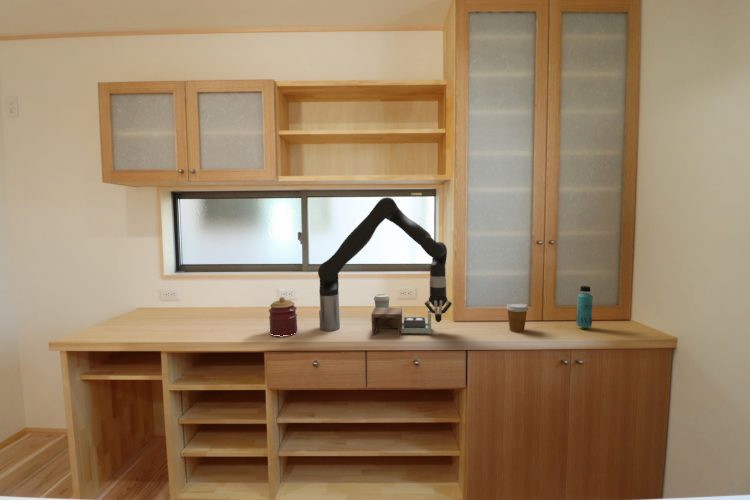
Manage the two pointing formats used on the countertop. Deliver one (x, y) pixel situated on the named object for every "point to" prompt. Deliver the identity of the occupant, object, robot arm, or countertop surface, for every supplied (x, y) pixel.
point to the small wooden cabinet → (386, 319)
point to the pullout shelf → (419, 330)
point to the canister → (283, 317)
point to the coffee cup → (381, 301)
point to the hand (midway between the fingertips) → (438, 321)
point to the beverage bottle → (584, 308)
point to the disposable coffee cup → (517, 316)
